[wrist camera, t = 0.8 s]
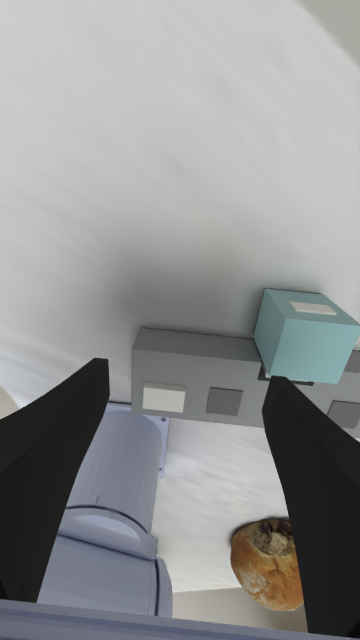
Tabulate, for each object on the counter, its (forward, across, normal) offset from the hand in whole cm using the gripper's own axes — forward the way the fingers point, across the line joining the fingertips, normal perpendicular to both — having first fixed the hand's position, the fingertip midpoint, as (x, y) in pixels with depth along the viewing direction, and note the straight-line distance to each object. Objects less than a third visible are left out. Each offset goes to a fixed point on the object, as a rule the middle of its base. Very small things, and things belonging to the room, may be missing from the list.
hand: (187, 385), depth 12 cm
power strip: (+9, -10, +6) cm, 15 cm away
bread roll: (+10, -13, +30) cm, 35 cm away
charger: (+9, -7, 0) cm, 12 cm away
